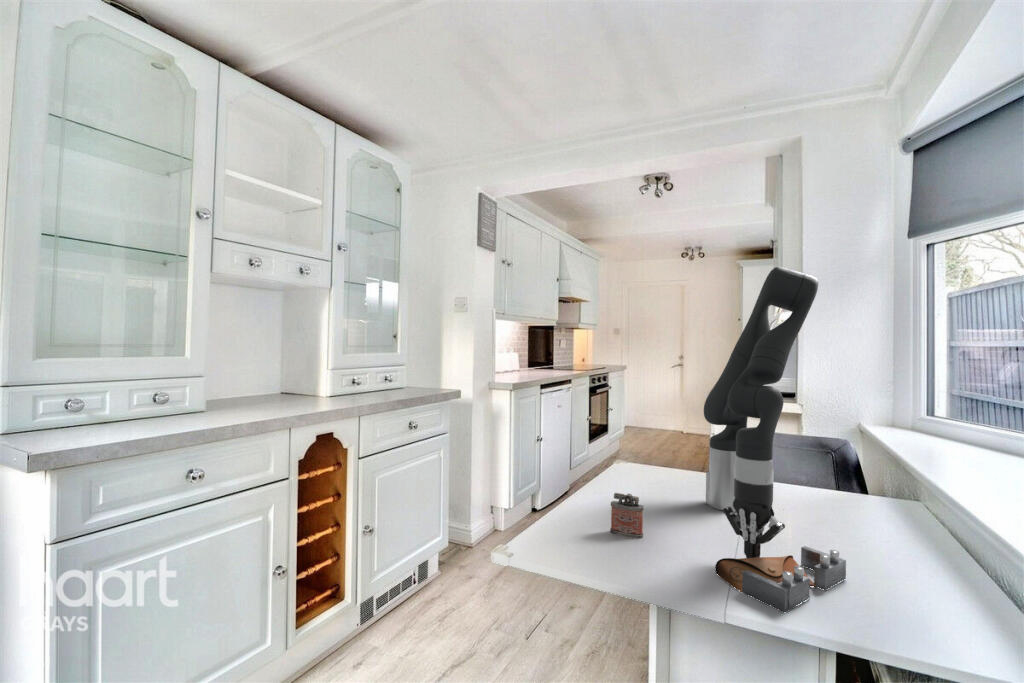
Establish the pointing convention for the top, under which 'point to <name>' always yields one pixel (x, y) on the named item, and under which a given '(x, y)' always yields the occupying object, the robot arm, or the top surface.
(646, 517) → the top surface
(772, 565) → the sunglasses case
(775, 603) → the bracket
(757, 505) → the robot arm
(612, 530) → the lighter
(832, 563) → the bracket
